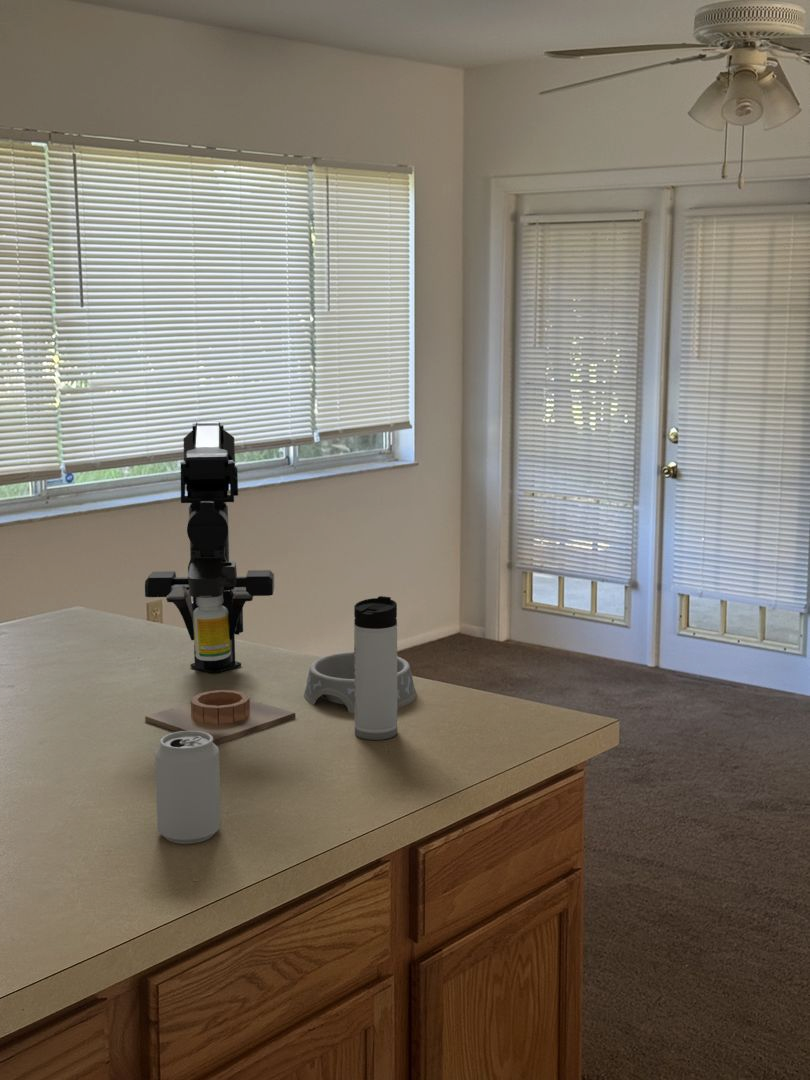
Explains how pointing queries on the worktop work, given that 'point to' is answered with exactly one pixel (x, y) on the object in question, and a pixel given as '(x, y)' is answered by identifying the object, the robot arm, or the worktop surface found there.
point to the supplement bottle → (211, 629)
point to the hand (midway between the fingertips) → (212, 639)
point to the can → (188, 787)
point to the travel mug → (375, 668)
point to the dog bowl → (350, 681)
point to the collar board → (221, 730)
